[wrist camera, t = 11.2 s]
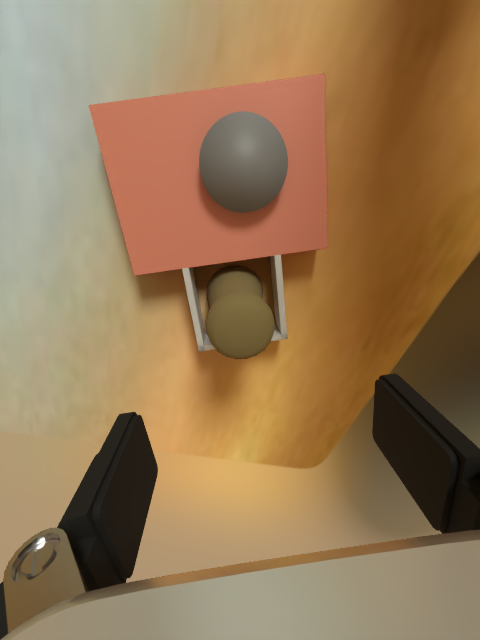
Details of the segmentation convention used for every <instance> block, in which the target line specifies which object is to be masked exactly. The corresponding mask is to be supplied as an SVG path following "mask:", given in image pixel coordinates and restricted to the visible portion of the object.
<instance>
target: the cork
mask: <svg viewBox="0 0 480 640" xmlns="http://www.w3.org/2000/svg"><path fill="white" fill-rule="evenodd" d="M207 300H208V303H209V306H210V309H209V312H208V316H207V319H206V333H207V335H208V338H209V340H210V342H211V344H212V345H213V347H214V348H215V349H216V350H217V351H218V352H219V353H221V354H223V355H225V356H226V357H230V358H234V359H247V358H250V357H253V356H256V355H257V354H259V353H260V352H262V351H263V350H264V349H265V348H266V347H267V346H268V344H269V343H270V342H271V339H272V337H273V334H274V324H275V320H274V317H273V313H272V310H271V309H270V307H269V306H268V305H267V303H266V302H265V301H264V300H263V288H262V285H261V282H260V279H259V278H258V277H257V275H256V274H255V273H254V272H253V271H251V270H250V269H248V268H246V267H243V266H240V265H230V266H227V267H224V268H221V269H220V270H219V271H217V272H216V273H215V274H214V275H213V276H212V278H211V279H210V281H209V283H208V287H207Z"/></svg>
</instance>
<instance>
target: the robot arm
mask: <svg viewBox="0 0 480 640" xmlns="http://www.w3.org/2000/svg"><path fill="white" fill-rule="evenodd" d="M373 438H374V440H375V442H376V444H377V445H378V447H379V448H380V450H381V451H382V453H383V454H384V456H385V457H386V459H387V460H388V462H389V463H390V465H391V466H392V468H393V469H394V471H395V472H396V473H397V475H398V476H399V478H400V479H401V481H402V482H403V484H404V485H405V487H406V488H407V490H408V491H409V493H410V494H411V496H412V497H413V499H414V500H415V502H416V503H417V505H418V506H419V507H420V509H421V510H422V512H423V513H424V515H425V516H426V518H427V519H428V521H429V522H430V524H431V525H432V526H433V528H435V529H436V530H440V531H441V533H442V534H438V535H430V536H422V537H415V538H408V539H402V540H395V541H388V542H381V543H375V544H368V545H360V546H354V547H347V548H340V549H334V550H327V551H320V552H314V553H308V554H301V555H294V556H288V557H281V558H275V559H268V560H262V561H256V562H249V563H242V564H236V565H230V566H224V567H217V568H211V569H205V570H199V571H192V572H187V573H180V574H174V575H168V576H162V577H156V578H151V579H145V580H140V581H134V582H129V583H126V579H127V578H130V577H131V576H132V574H133V570H134V566H135V562H136V558H137V554H138V550H139V546H140V542H141V538H142V534H143V530H144V526H145V522H146V518H147V514H148V510H149V506H150V502H151V498H152V494H153V490H154V486H155V482H156V478H157V472H158V468H157V463H156V460H155V457H154V454H153V450H152V447H151V444H150V441H149V438H148V435H147V432H146V428H145V425H144V422H143V419H142V416H141V415H137V414H136V412H130V413H123V414H120V415H119V416H118V417H117V419H116V421H115V423H114V425H113V427H112V429H111V431H110V433H109V434H108V436H107V438H106V440H105V442H104V444H103V446H102V448H101V450H100V452H99V453H98V454H97V455H96V456H95V457H94V459H93V461H92V463H91V465H90V466H89V468H88V470H87V472H86V474H85V476H84V478H83V480H82V481H81V483H80V485H79V487H78V489H77V491H76V493H75V495H74V497H73V498H72V500H71V502H70V504H69V506H68V508H67V510H66V512H65V514H64V516H63V517H62V520H61V521H60V523H59V525H58V527H57V528H49V529H46V530H44V531H41V532H40V533H38V534H36V535H34V536H33V537H31V538H30V539H29V540H28V541H26V542H25V543H24V544H23V545H22V546H21V547H20V548H19V549H18V550H17V551H16V552H15V554H14V555H13V557H12V558H11V560H10V561H9V562H8V565H7V567H6V570H5V572H4V579H3V582H2V583H1V584H0V640H480V449H479V448H478V447H477V446H476V445H475V444H474V443H473V442H472V441H470V440H469V439H468V438H467V437H466V436H465V435H464V434H463V433H462V432H460V431H459V430H458V429H457V428H456V427H455V426H454V425H453V424H452V423H450V422H449V421H448V420H447V419H446V418H445V417H444V416H443V415H442V414H440V413H439V412H438V411H437V410H436V409H435V408H434V407H433V406H432V405H431V404H430V403H428V402H427V401H426V400H425V399H424V398H423V397H422V396H421V395H420V394H419V393H417V392H416V391H415V390H414V389H413V388H412V387H411V386H410V385H409V384H407V383H406V382H405V381H404V380H403V379H402V378H401V377H400V376H399V375H397V374H389V375H382V376H380V377H379V380H376V382H375V395H374V414H373Z"/></svg>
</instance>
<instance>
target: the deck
mask: <svg viewBox="0 0 480 640" xmlns="http://www.w3.org/2000/svg"><path fill="white" fill-rule="evenodd" d="M89 108H90V112H91V116H92V120H93V123H94V127H95V131H96V134H97V138H98V142H99V146H100V149H101V153H102V157H103V161H104V164H105V168H106V172H107V175H108V179H109V183H110V187H111V190H112V194H113V198H114V202H115V205H116V209H117V213H118V216H119V220H120V224H121V228H122V231H123V235H124V239H125V243H126V246H127V250H128V254H129V258H130V261H131V265H132V269H133V272H134V275H141V274H148V273H155V272H162V271H169V270H176V269H182V271H183V276H184V281H185V286H186V291H187V296H188V300H189V305H190V310H191V315H192V320H193V325H194V330H195V335H196V340H197V344H198V349H199V352H201V351H208V350H215V348H214V347H213V345H212V344H211V342H210V340H209V338H208V335H207V334H205V330H204V324H203V319H202V314H201V309H200V303H199V298H198V293H197V288H196V283H195V277H194V272H193V267H197V266H204V265H211V264H219V263H226V262H233V261H240V260H247V259H254V258H261V257H268V256H270V265H271V276H272V287H273V298H274V309H275V320H276V324H274V334H273V337H272V339H271V341H276V340H283V339H287V327H286V314H285V301H284V288H283V275H282V262H281V255H282V254H289V253H296V252H303V251H310V250H317V249H324V248H328V224H327V168H326V112H325V74H319V75H311V76H304V77H296V78H289V79H281V80H274V81H266V82H259V83H251V84H244V85H236V86H229V87H221V88H214V89H206V90H199V91H191V92H184V93H176V94H169V95H161V96H154V97H146V98H139V99H131V100H124V101H116V102H109V103H101V104H94V105H89Z"/></svg>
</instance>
